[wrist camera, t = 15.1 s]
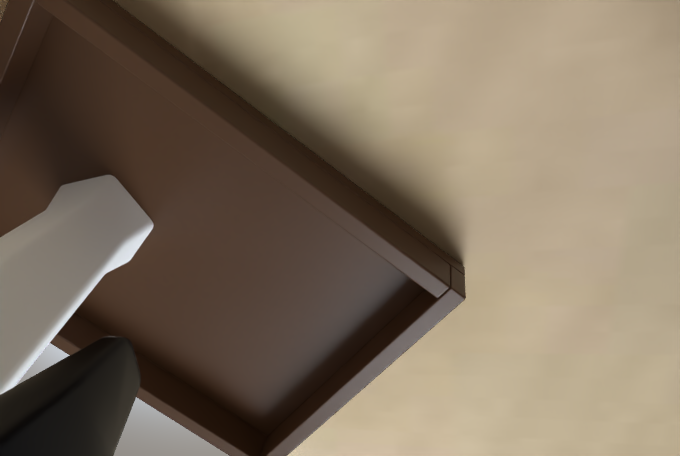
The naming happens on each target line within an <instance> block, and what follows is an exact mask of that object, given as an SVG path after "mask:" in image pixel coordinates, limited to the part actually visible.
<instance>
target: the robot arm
mask: <svg viewBox="0 0 680 456" xmlns="http://www.w3.org/2000/svg"><path fill="white" fill-rule="evenodd" d="M140 383H141V374H140V370H139V366H138V363H137V359H136V356H135V352H134V349H133V345H132V343H131V341H130V340H129V339H128V338H126V337H117V336H105V337H102V338H100V339H98V340H97V341H95V342H93V343H91V344H90V345H88V346H86V347H84V348H82V349H81V350H79V351H77V352H75V353H74V354H72V355H70V356H68V357H66V358H65V359H63V360H61V361H59V362H58V363H56V364H54V365H52V366H51V367H49V368H47V369H45V370H43V371H42V372H40V373H38V374H36V375H35V376H33V377H31V378H29V379H27V380H26V381H24V382H22V383H20V384H18V385H17V386H15V387H13V388H11V389H10V390H8V391H6V392H4V393H2V394H1V395H0V456H113V455H114V452H115V450H116V447H117V445H118V442H119V439H120V436H121V434H122V432H123V429H124V426H125V424H126V421H127V418H128V416H129V413H130V411H131V408H132V406H133V403H134V401H135V398H136V395H137V393H138V390H139V387H140Z"/></svg>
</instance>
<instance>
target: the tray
mask: <svg viewBox="0 0 680 456" xmlns="http://www.w3.org/2000/svg"><path fill="white" fill-rule="evenodd" d="M104 175H112V176H114V177H115V178H116V179H117V180H118V181H119V182H120V183H121V184H122V186H123V187H124V188H125V189H126V190H127V192H128V193H129V194H130V195H131V196H132V197H133V199H134V200H135V201H136V202H137V203H138V205H139V206H140V207H141V208H142V209H143V211H144V212H145V213H146V214H147V215H148V216H149V218H150V219H151V220H152V222H153V225H154V226H153V229H152V230H151V232H150V233H149V235H148V236H147V237H146V239H145V240H144V242H143V243H142V244H141V246H140V247H139V249H138V250H137V251H136V253H135V254H134V256H133V257H132V258H131V260H130V261H129V262H127V263H125V264H123V265H121V266H119V267H118V268H116V269H114V270H112V271H110V272H108V273H106V274H105V275H104V276H103V277H102V279H101V280H100V281H99V282H98V284H97V285H96V286H95V287H94V288H93V290H92V291H91V292H90V293H89V295H88V296H87V297H86V298H85V300H84V301H83V302H82V303H81V305H80V306H79V307H78V308H77V310H76V311H75V312H74V313H73V315H72V316H71V317H70V318H69V320H68V321H67V322H66V323H65V325H64V326H63V327H62V328H61V329H60V331H59V332H58V333H57V334H56V336H55V337H54V338H53V339H52V341H51V342H50V343H51V344H53V345H54V346H56V347H58V348H59V349H61V350H62V351H64V352H65V353H67V354H69V355H72V354H74V353H75V352H77V351H79V350H81V349H82V348H84V347H86V346H88V345H90V344H91V343H93V342H95V341H97V340H98V339H100V338H102V337H105V336H117V337H126V338H128V339H129V340H130V341H131V343H132V345H133V349H134V352H135V356H136V359H137V363H138V366H139V370H140V374H141V383H140V387H139V390H138V393H137V395H136V397H137V398H139V399H141V400H142V401H144V402H145V403H147V404H148V405H150V406H151V407H153V408H155V409H156V410H158V411H159V412H161V413H163V414H164V415H166V416H167V417H169V418H171V419H172V420H174V421H175V422H177V423H179V424H180V425H182V426H183V427H185V428H186V429H188V430H190V431H191V432H193V433H194V434H196V435H198V436H199V437H201V438H202V439H204V440H206V441H207V442H209V443H210V444H212V445H214V446H215V447H217V448H218V449H220V450H221V451H223V452H225V453H226V454H228V455H229V456H287V455H288V454H289V453H291V452H292V451H293V450H294V449H295V448H296V447H297V446H299V445H300V444H301V443H302V442H303V441H304V440H305V439H306V438H308V437H309V436H310V435H311V434H312V433H313V432H314V431H316V430H317V429H318V428H319V427H320V426H321V425H322V424H324V423H325V422H326V421H327V420H328V419H329V418H330V417H332V416H333V415H334V414H335V413H336V412H337V411H338V410H339V409H341V408H342V407H343V406H344V405H345V404H346V403H347V402H349V401H350V400H351V399H352V398H353V397H354V396H355V395H357V394H358V393H359V392H360V391H361V390H362V389H363V388H365V387H366V386H367V385H368V384H369V383H370V382H371V381H372V380H374V379H375V378H376V377H377V376H378V375H379V374H380V373H382V372H383V371H384V370H385V369H386V368H387V367H388V366H390V365H391V364H392V363H393V362H394V361H395V360H396V359H398V358H399V357H400V356H401V355H402V354H403V353H404V352H405V351H407V350H408V349H409V348H410V347H411V346H412V345H413V344H415V343H416V342H417V341H418V340H419V339H420V338H421V337H423V336H424V335H425V334H426V333H427V332H428V331H429V330H431V329H432V328H433V327H434V326H435V325H436V324H437V323H438V322H440V321H441V320H442V319H443V318H444V317H445V316H446V315H448V314H449V313H450V312H451V311H452V310H453V309H454V308H456V307H457V306H458V305H459V304H460V303H461V302H462V301H464V300H465V298H466V295H465V276H464V275H465V269H464V266H462V265H461V264H460V263H458V262H457V261H456V260H454V259H453V258H452V257H450V256H449V255H448V254H446V253H445V252H444V251H442V250H441V249H440V248H438V247H437V246H436V245H435V244H433V243H432V242H431V241H429V240H428V239H427V238H425V237H424V236H423V235H421V234H420V233H419V232H417V231H416V230H415V229H413V228H412V227H411V226H409V225H408V224H407V223H405V222H404V221H403V220H402V219H400V218H399V217H398V216H396V215H395V214H394V213H392V212H391V211H390V210H388V209H387V208H386V207H384V206H383V205H382V204H380V203H379V202H378V201H376V200H375V199H374V198H372V197H371V196H370V195H368V194H367V193H366V192H365V191H363V190H362V189H361V188H359V187H358V186H357V185H355V184H354V183H353V182H351V181H350V180H349V179H347V178H346V177H345V176H343V175H342V174H341V173H339V172H338V171H337V170H335V169H334V168H333V167H332V166H330V165H329V164H328V163H326V162H325V161H324V160H322V159H321V158H320V157H318V156H317V155H316V154H314V153H313V152H312V151H310V150H309V149H308V148H306V147H305V146H304V145H302V144H301V143H300V142H298V141H297V140H296V139H295V138H293V137H292V136H291V135H289V134H288V133H287V132H285V131H284V130H283V129H281V128H280V127H279V126H277V125H276V124H275V123H273V122H272V121H271V120H269V119H268V118H267V117H265V116H264V115H263V114H262V113H260V112H259V111H258V110H256V109H255V108H254V107H252V106H251V105H250V104H248V103H247V102H246V101H244V100H243V99H242V98H240V97H239V96H238V95H236V94H235V93H234V92H232V91H231V90H230V89H228V88H227V87H226V86H225V85H223V84H222V83H221V82H219V81H218V80H217V79H215V78H214V77H213V76H211V75H210V74H209V73H207V72H206V71H205V70H203V69H202V68H201V67H199V66H198V65H197V64H195V63H194V62H193V61H192V60H190V59H189V58H188V57H186V56H185V55H184V54H182V53H181V52H180V51H178V50H177V49H176V48H174V47H173V46H172V45H170V44H169V43H168V42H166V41H165V40H164V39H162V38H161V37H160V36H158V35H157V34H156V33H155V32H153V31H152V30H151V29H149V28H148V27H147V26H145V25H144V24H143V23H141V22H140V21H139V20H137V19H136V18H135V17H133V16H132V15H131V14H129V13H128V12H127V11H125V10H124V9H123V8H122V7H120V6H119V5H118V4H116V3H115V2H114V1H112V0H9V1H8V4H7V7H6V9H5V12H4V14H3V17H2V20H1V22H0V237H2V236H4V235H5V234H7V233H9V232H10V231H12V230H14V229H15V228H17V227H18V226H20V225H22V224H23V223H25V222H27V221H28V220H30V219H32V218H33V217H35V216H37V215H38V214H40V213H42V212H43V211H45V210H46V209H47V207H48V206H49V204H50V203H51V201H52V199H53V198H54V196H55V195H56V193H57V191H58V190H59V188H60V187H61V186H62V185H65V184H69V183H73V182H78V181H82V180H86V179H91V178H95V177H99V176H104Z"/></svg>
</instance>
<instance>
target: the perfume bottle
mask: <svg viewBox="0 0 680 456" xmlns="http://www.w3.org/2000/svg"><path fill="white" fill-rule="evenodd" d="M153 226H154V225H153V222H152V220H151V219H150V218H149V216H148V215H147V214H146V213H145V212H144V211H143V209H142V208H141V207H140V206H139V205H138V203H137V202H136V201H135V200H134V199H133V197H132V196H131V195H130V194H129V193H128V192H127V190H126V189H125V188H124V187H123V186H122V184H121V183H120V182H119V181H118V180H117V179H116V178H115V177H114V176H112V175H104V176H99V177H95V178H91V179H86V180H82V181H78V182H73V183H69V184H65V185H62V186H61V187H60V188H59V190H58V191H57V193H56V195H55V196H54V198H53V199H52V201H51V203H50V204H49V206H48V207H47V209H46V210H45V211H43V212H42V213H40V214H38V215H37V216H35V217H33V218H32V219H30V220H28V221H27V222H25V223H23V224H22V225H20V226H18V227H17V228H15V229H14V230H12V231H10V232H9V233H7V234H5V235H4V236H2V237H0V395H1V394H2V393H4V392H6V391H8V390H10V389H11V388H13V387H15V385H16V384H17V383H18V382H19V380H20V379H21V378H22V377H23V375H24V374H25V373H26V372H27V370H28V369H29V368H30V367H31V366H32V364H33V363H34V362H35V360H36V359H37V358H38V357H39V356H40V354H41V353H42V352H43V351H44V349H45V348H46V347H47V345H48V344H49V343H50V342H51V341H52V339H53V338H54V337H55V336H56V334H57V333H58V332H59V331H60V329H61V328H62V327H63V326H64V325H65V323H66V322H67V321H68V320H69V318H70V317H71V316H72V315H73V313H74V312H75V311H76V310H77V308H78V307H79V306H80V305H81V303H82V302H83V301H84V300H85V298H86V297H87V296H88V295H89V293H90V292H91V291H92V290H93V288H94V287H95V286H96V285H97V284H98V282H99V281H100V280H101V279H102V277H103V276H104V275H105V274H106V273H108V272H110V271H112V270H114V269H116V268H118V267H119V266H121V265H123V264H125V263H127V262H129V261H130V260H131V258H132V257H133V256H134V254H135V253H136V251H137V250H138V249H139V247H140V246H141V244H142V243H143V242H144V240H145V239H146V237H147V236H148V235H149V233H150V232H151V230H152V229H153Z"/></svg>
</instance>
